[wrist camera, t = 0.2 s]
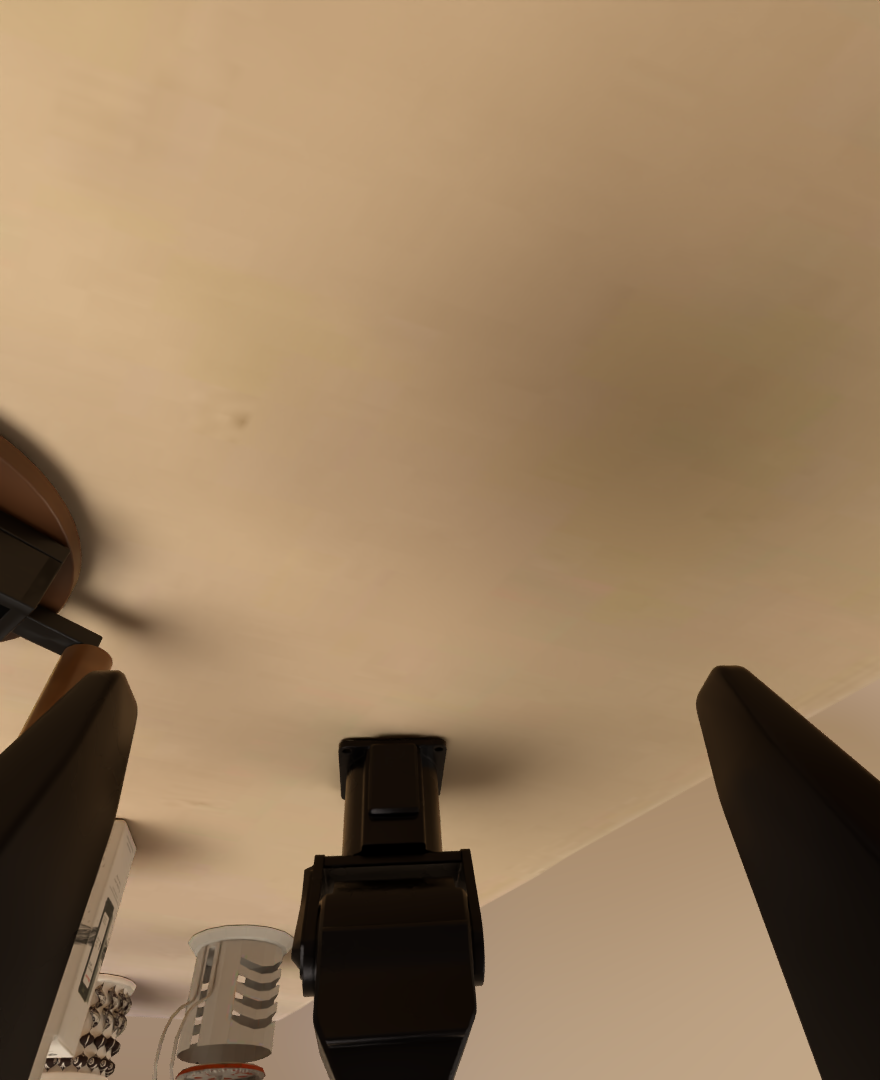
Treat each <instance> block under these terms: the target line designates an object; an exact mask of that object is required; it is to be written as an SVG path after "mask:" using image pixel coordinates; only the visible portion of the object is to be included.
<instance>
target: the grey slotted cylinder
mask: <svg viewBox="0 0 880 1080" xmlns="http://www.w3.org/2000/svg"><path fill="white" fill-rule="evenodd" d="M293 940H294V939H293V937H291V936H290V935H288V934H287V933H285V932H283V931H280V930H276V929H273V928H269V927H260V926H251V925H240V926H224V927H218V928H213V929H208V930H205V931H203V932H200V933H198V934H196V935H194V936H193V937H192V938H191V940H190V941H189V942H188V943H189V945H190V947H191V949H192V951H193V953H194V954H195V956H196V957H197V959H196V964H195V969H194V973H193V978H192V983H191V988H190V993H189V998H188V1002H187V1003H186V1004H184V1005H182V1006H181V1007H179V1008H178V1009H177V1010H176V1012H175V1013H174V1014H173V1015H172V1016H171V1017H170V1019H169V1021H168V1023H167V1025H166V1027H165V1029H164V1031H163V1033H162V1036H161V1038H160V1041H159V1045H158V1049H157V1054H156V1058H155V1062H154V1071H153V1080H157V1062H158V1058H159V1054H160V1050H161V1046H162V1043H163V1040H164V1037H165V1034H166V1031H167V1028H168V1027H169V1025H170V1023H171V1021H172V1019H173V1018H174V1017H175V1016H176V1014H177V1013H178V1012H179V1011H180V1010H181V1009H183V1008H185V1007H186V1012H185V1017H184V1019H183V1021H182V1023H181V1025H180V1028H179V1030H178V1032H177V1035H176V1037H175V1041H174V1047H173V1052H172V1058H171V1063H170V1080H174V1078H173V1065H174V1060H175V1054H176V1049H177V1044H178V1039H179V1036H180V1034H181V1036H180V1041H179V1046H178V1050H177V1057H178V1058H179V1059H180V1060H182V1061H185V1062H188V1063H195V1064H200V1065H197V1066H193V1067H189V1068H186V1069H183V1070H182V1071H181V1072H180V1073H179V1074H178V1075H177V1077H176V1080H262V1079H263V1078H264V1076H265V1073H264V1070H263V1068H261V1067H259V1066H257V1065H254V1064H250V1063H246V1062H252V1061H256V1060H260V1059H263V1058H265V1057H267V1056H269V1055H270V1054H271V1053H272V1045H273V1036H274V1028H275V1021H273V1022H272V1017H273V1016H274V1014H275V1013H276V1010H277V1002H276V1003H274V1000H275V998H276V997H277V995H278V992H279V985H277V986H276V983H277V982H278V980H279V979H280V976H281V969H278V967H279V966H280V964H281V963H282V957H283V956H284V955H285V954H286V953H287V952H288V951H289V950H290V949H291V948H292V945H293ZM238 975H241V976H244V977H246V980H245V983H240V982H238V981H237V979H238ZM208 982H209V985H208V989H207V990H205V991H201V988H202V984H205V983H208ZM235 992H238V993H240V994H241V995H243V999H237V998H235ZM204 1001H205V1006H204V1007H201V1008H198V1004H200V1003H202V1002H204ZM233 1010H234V1011H236V1012H238V1013H239V1014H240V1016H236V1015H232V1011H233ZM200 1016H203V1017H202V1023H201V1024H199V1025H194V1023H195V1018H196V1017H200ZM271 1022H272V1023H271ZM197 1034H199V1039H198V1043H196V1044H192V1045H190V1043H191V1038H192V1035H197Z"/></svg>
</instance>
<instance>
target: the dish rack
mask: <svg viewBox="0 0 880 1080" xmlns="http://www.w3.org/2000/svg"><path fill="white" fill-rule="evenodd" d="M70 551H71V550H70V549H68V548H66V547H65V546H63V545H61V544H59V543H58V542H56V541H54V540H52V539H51V538H49V537H47V536H45V535H44V534H42V533H40V532H38V531H36V530H35V529H33V528H31V527H29V526H28V525H26V524H24V523H22V522H21V521H19V520H17V519H15V518H14V517H12V516H10V515H8V514H7V513H5V512H3V511H1V510H0V642H1V641H2V640H3V639H4V638H5V637H6V636H7V635H8V634H9V633H11V632H12V633H14V634H16V635H18V636H20V637H23V638H25V639H27V640H29V641H31V642H33V643H35V644H37V645H40V646H42V647H44V648H46V649H48V650H50V651H52V652H55V653H57V654H59V655H61V657H60V659H59V661H58V662H57V664H56V666H55V668H54V670H53V672H52V674H51V676H50V678H49V679H48V681H47V683H46V685H45V687H44V689H43V691H42V693H41V695H40V697H39V698H38V700H37V702H36V704H35V706H34V708H33V710H32V712H31V714H30V715H29V717H28V719H27V721H26V723H25V725H24V727H23V729H22V731H21V733H20V734H19V736H18V737H20V736H21V735H22V734H23V733H24V732H25V731H26V730H27V729H28V728H29V727H30V726H31V725H32V724H34V723H35V722H36V721H37V720H38V719H39V718H40V717H41V716H42V715H43V714H44V713H45V712H46V711H48V710H49V709H50V708H51V707H52V706H53V705H54V704H55V703H56V702H57V701H58V700H59V699H60V698H62V697H63V696H64V695H65V694H66V693H67V692H68V691H69V690H70V689H71V688H72V687H73V686H74V685H76V684H77V683H78V682H79V681H80V680H81V679H82V678H83V677H84V676H85V675H87V674H88V673H90V672H92V671H99V670H110V669H111V667H112V664H113V662H112V658H111V656H110V655H109V654H108V653H107V652H106V651H104V650H103V649H101V648H99V644H100V642H101V640H102V636H100V635H98V634H96V633H94V632H92V631H90V630H88V629H86V628H84V627H82V626H80V625H78V624H76V623H74V622H72V621H70V620H68V619H66V618H64V617H62V616H60V615H58V614H56V613H54V612H52V611H50V610H48V609H46V608H44V607H42V606H40V605H38V604H39V602H40V601H41V599H42V597H43V596H44V594H45V592H46V591H47V589H48V588H49V586H50V584H51V583H52V581H53V579H54V578H55V576H56V575H57V573H58V571H59V570H60V568H61V566H62V564H63V563H64V561H65V560H66V558H67V557H68V555H69V553H70Z"/></svg>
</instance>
